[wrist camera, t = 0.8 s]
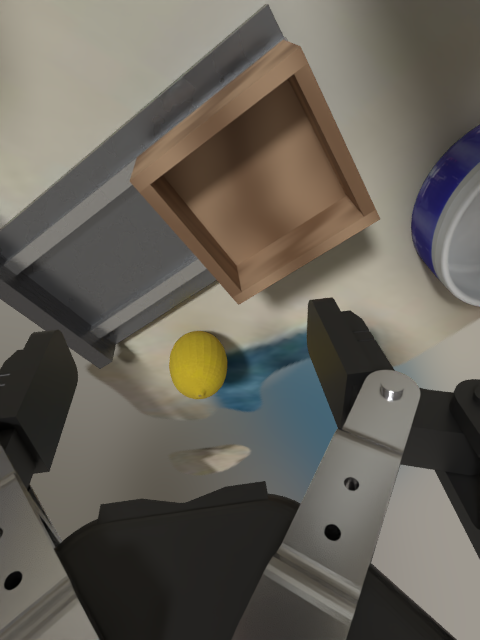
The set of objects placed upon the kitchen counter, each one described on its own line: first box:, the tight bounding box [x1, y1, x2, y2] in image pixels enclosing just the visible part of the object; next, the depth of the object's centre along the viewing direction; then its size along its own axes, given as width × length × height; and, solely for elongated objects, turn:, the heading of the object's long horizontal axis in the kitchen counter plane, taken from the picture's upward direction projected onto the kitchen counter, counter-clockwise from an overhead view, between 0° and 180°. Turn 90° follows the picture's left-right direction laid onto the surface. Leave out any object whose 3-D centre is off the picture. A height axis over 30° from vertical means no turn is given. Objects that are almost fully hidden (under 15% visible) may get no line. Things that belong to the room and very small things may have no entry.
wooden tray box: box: [130, 40, 380, 305], centre depth 26 cm, size 11×11×6 cm
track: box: [0, 4, 288, 369], centre depth 31 cm, size 28×14×3 cm, turn 124°
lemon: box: [169, 331, 227, 399], centre depth 38 cm, size 6×6×8 cm
